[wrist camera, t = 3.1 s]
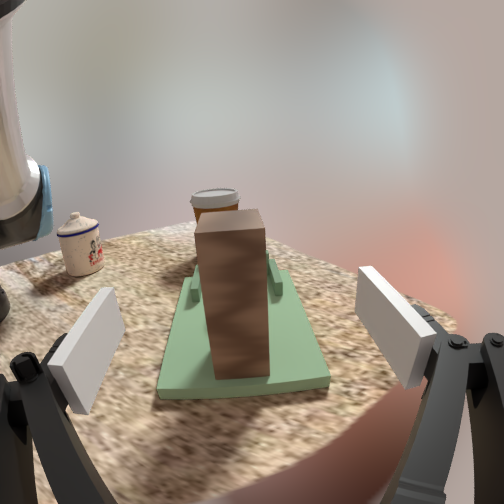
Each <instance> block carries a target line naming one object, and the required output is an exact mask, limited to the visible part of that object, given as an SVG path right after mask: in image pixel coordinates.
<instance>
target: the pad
mask: <svg viewBox="0 0 504 504" xmlns="http://www.w3.org/2000/svg"><path fill="white" fill-rule="evenodd" d="M266 264H267V292H268V322H269V355H270V376H266V377H255V378H242V379H227V380H216V379H215V374H214V368H213V362H212V356H211V350H210V344H209V338H208V332H207V325H206V319H205V312H204V305H203V298H202V291H201V284H200V276H199V269H198V265H196V267H195V271H194V276H193V277H185V279H184V283H183V286H182V290H181V294H180V297H179V301H178V305H177V308H176V312H175V316H174V320H173V323H172V327H171V331H170V335H169V339H168V343H167V347H166V351H165V355H164V359H163V363H162V367H161V371H160V376H159V380H158V384H157V388H156V389H157V392H158V394H159V397H160V399H215V398H234V397H248V396H260V395H270V394H279V393H288V392H296V391H303V390H310V389H317V388H323V387H329V384H330V377H331V375H330V372H329V370H328V367H327V365H326V362H325V360H324V357H323V355H322V352H321V350H320V347H319V345H318V342H317V340H316V338H315V335H314V333H313V330H312V328H311V325H310V323H309V320H308V318H307V315H306V313H305V311H304V308H303V306H302V303H301V301H300V299H299V296H298V294H297V291H296V289H295V287H294V284H293V282H292V279H291V277H290V275H289V272H288V270H278V267H277V265H276V262H275V259H269V253H268V250H266Z"/></svg>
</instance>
